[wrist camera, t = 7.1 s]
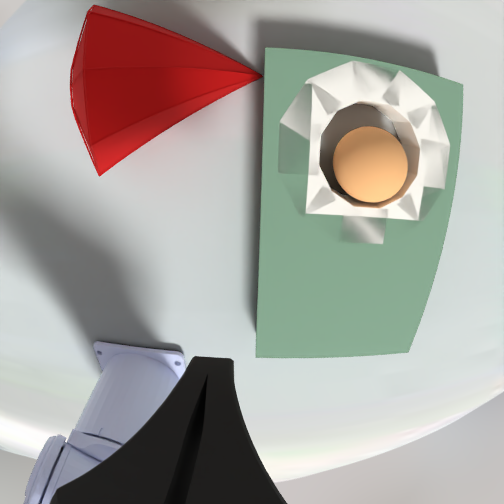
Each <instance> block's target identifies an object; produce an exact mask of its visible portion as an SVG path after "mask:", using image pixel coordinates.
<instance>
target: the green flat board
mask: <svg viewBox="0 0 504 504" xmlns="http://www.w3.org/2000/svg"><path fill="white" fill-rule="evenodd" d="M354 103H357V104H364V105H371V106H374V107H375V108H376V109H377V110H379V111H380V112H381V113H382V114H384V115H385V116H386V117H387V118H388V119H390V120H391V121H392V123H393V125H394V128H395V130H396V133H397V135H398V137H399V140H400V142H401V145H402V147H403V149H404V151H405V154H406V157H407V162H408V171H407V176H406V179H405V182H404V184H403V186H402V187H401V189H400V190H399V191H398V192H397V193H396V194H395V195H394V196H392V197H391V198H389V199H386V200H384V201H380V202H364V201H361V200H358V199H356V198H354V197H352V196H350V195H341V194H340V193H339V192H337V191H336V190H334V189H333V188H331V187H330V186H329V185H328V182H327V180H326V178H325V176H324V174H323V172H322V170H321V168H320V166H319V158H320V141H321V134H322V133H323V131H324V130H325V128H326V127H327V125H328V124H329V122H330V121H331V119H332V118H333V116H334V115H335V113H336V112H337V111H338V110H340V109H343V108H345V107H347V106H350V105H352V104H354ZM462 113H463V84H460V83H457V82H454V81H451V80H448V79H445V78H442V77H439V76H436V75H433V74H429V73H426V72H422V71H419V70H415V69H411V68H407V67H403V66H399V65H395V64H391V63H386V62H382V61H377V60H372V59H367V58H361V57H355V56H349V55H343V54H336V53H328V52H320V51H311V50H300V49H286V48H265V59H264V102H263V140H262V176H261V209H260V240H259V270H258V299H257V326H256V358H329V357H354V356H371V355H385V354H397V353H407V352H409V350H410V347H411V345H412V342H413V339H414V337H415V334H416V332H417V329H418V326H419V324H420V321H421V318H422V315H423V312H424V309H425V306H426V303H427V300H428V297H429V294H430V291H431V288H432V284H433V281H434V278H435V274H436V271H437V267H438V263H439V260H440V256H441V252H442V248H443V244H444V240H445V236H446V231H447V227H448V222H449V217H450V212H451V207H452V201H453V196H454V190H455V183H456V176H457V169H458V161H459V152H460V142H461V130H462Z"/></svg>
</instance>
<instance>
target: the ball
mask: <svg viewBox="0 0 504 504" xmlns="http://www.w3.org/2000/svg"><path fill="white" fill-rule="evenodd" d="M333 168H334V173H335V176H336V178H337V181H338V182H339V184H340V185H341V187H342V188H343V189H344V190H345V191H346V192H347V193H348V194H349V195H351V196H352V197H354V198H356V199H358V200H361V201H364V202H380V201H384V200H386V199H389V198H391V197H392V196H394V195H395V194H396V193H397V192H398V191H399V190H400V189H401V187H402V186H403V184H404V182H405V179H406V176H407V171H408V162H407V157H406V154H405V151H404V149H403V147H402V145H401V144H400V142H399V141H398V140H397V139H396V138H395V137H394V136H393V135H392V134H390V133H389V132H387V131H385V130H383V129H381V128H377V127H371V126H366V127H360V128H356V129H354V130H352V131H350V132H349V133H347V134H346V135H345V136H344V137H343V138H342V139H341V140H340V141H339V143H338V145H337V147H336V149H335V152H334V157H333Z"/></svg>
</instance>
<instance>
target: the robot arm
mask: <svg viewBox="0 0 504 504" xmlns="http://www.w3.org/2000/svg"><path fill="white" fill-rule="evenodd" d="M93 348H94V351H95V353H96V356H97V359H98V361H99V364H100V367H101V369H102V374H101V376H100V378H99V380H98V382H97V384H96V386H95V388H94V390H93V392H92V394H91V396H90V398H89V400H88V402H87V404H86V406H85V408H84V410H83V412H82V414H81V416H80V418H79V420H78V423H77V425H76V427H75V429H73V430H72V432H71V434H70V436H69V439H68V441H67V443H66V442H65V440H66V438H65V437H64V436H62V435H60V434H59V435H57V436H53V437H49V439H48V440H47V442H46V443H45V445H44V447H43V449H42V451H41V453H40V455H39V457H38V459H37V461H36V464H35V466H34V468H33V471H32V473H31V476H30V478H29V481H28V484H27V487H26V491H25V496H26V497H25V501H24V504H287V503H286V501H285V500H284V498H283V497H282V495H281V494H280V493H279V491H278V489H277V488H276V486H275V485H274V483H273V481H272V479H271V478H270V476H269V474H268V473H267V471H266V469H265V467H264V465H263V464H262V462H261V460H260V458H259V456H258V454H257V451H256V449H255V447H254V445H253V443H252V440H251V438H250V435H249V433H248V430H247V428H246V425H245V422H244V419H243V416H242V413H241V410H240V406H239V402H238V398H237V394H236V390H235V384H234V361H233V360H232V359H230V358H214V357H199V356H195V357H193V358H192V360H191V361H190V363H189V365H188V367H187V368H186V366H185V360H184V355H183V354H182V353H180V352H178V351H168V350H159V349H150V348H141V347H133V346H126V345H119V344H112V343H105V342H99V341H96V342H95V343H94V345H93ZM100 351H101V352H100ZM177 361H179V362H177Z"/></svg>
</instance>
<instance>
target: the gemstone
mask: <svg viewBox="0 0 504 504" xmlns="http://www.w3.org/2000/svg"><path fill="white" fill-rule="evenodd" d="M91 9H92V10H91ZM90 10H91V11H90ZM86 19H87V21H86ZM85 22H86V24H85ZM84 25H85V28H84ZM83 28H84V31H83ZM82 31H83V34H82ZM81 35H82V38H81ZM80 38H81V41H80ZM79 42H80V44H79ZM78 46H79V47H78ZM77 49H78V50H77ZM73 67H74V68H73ZM72 70H73V79H72ZM262 77H263V76H262V75H261V74H259V73H257V72H256V71H254V70H252V69H250V68H248V67H246V66H245V65H243V64H241V63H239V62H237V61H235V60H233V59H231V58H229V57H228V58H227V56H226V57H225V55H224V56H223V54H222V55H221V53H219V52H217V51H215V50H213V49H211V48H209V47H207V46H205V45H203V44H200V43H198V42H196V41H194V40H192V39H189V38H187V37H185V36H182V35H180V34H178V33H175V32H173V31H170V30H168V29H165V28H163V27H160V26H158V25H155V24H153V23H150V22H147V21H144V20H142V19H139V18H136V17H133V16H130V15H127V14H124V13H121V12H118V11H115V10H111V9H108V8H105V7H101V6H98V5H93V6H92V7H91V8H90V9H89V10H88V12H87V15H86V17H85V21H84V24H83V27H82V30H81V33H80V37H79V40H78V43H77V47H76V51H75V54H74V58H73V62H72V66H71V73H70V96H71V106H72V110H73V114H74V117H75V120H76V123H77V125H78V128H79V130H80V133H81V135H82V138H83V140H84V143H85V145H86V148H87V150H88V152H89V155H90V157H91V159H92V162H93V164H94V166H95V169H96V171H97V173H98V175H99V177H100V176H101V175H102V174H103V173H105V172H106V171H107V170H109V169H110V168H111V167H113V166H114V165H116V164H117V163H118V162H120V161H121V160H122V159H124V158H125V157H127V156H128V155H129V154H131V153H132V152H134V151H135V150H137V149H138V148H140V147H141V146H142V145H144V144H145V143H147V142H148V141H150V140H151V139H153V138H154V137H156V136H158V135H159V134H161V133H162V132H164V131H165V130H167V129H169V128H170V127H172V126H173V125H175V124H177V123H178V122H180V121H182V120H183V119H185V118H187V117H188V116H190V115H192V114H193V113H195V112H197V111H198V110H200V109H202V108H204V107H205V106H207V105H209V104H211V103H213V102H214V101H216V100H218V99H220V98H222V97H224V96H226V95H228V94H229V92H230V93H231V92H233V91H235V90H237V89H239V88H241V87H243V86H245V85H247V84H249V83H251V81H252V82H253V81H255V80H257V79H259V78H262ZM72 91H73V97H72ZM73 102H74V107H73ZM79 125H80V126H79ZM80 127H81V128H80ZM81 129H82V131H81ZM82 132H83V133H82ZM83 134H84V136H83ZM84 137H85V139H86V141H85V139H84ZM86 142H87V144H88V146H87V144H86ZM88 147H89V149H90V151H89V149H88ZM90 152H91V153H90ZM91 154H92V156H93V158H92V156H91ZM93 159H94V161H93ZM94 162H95V163H94Z"/></svg>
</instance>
